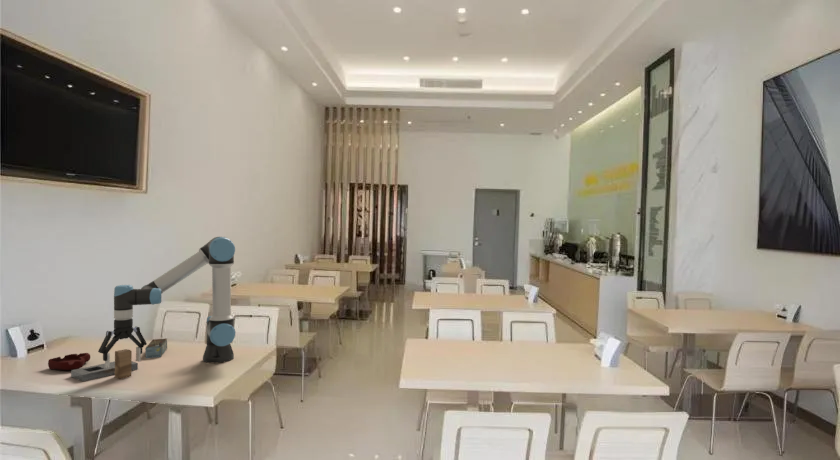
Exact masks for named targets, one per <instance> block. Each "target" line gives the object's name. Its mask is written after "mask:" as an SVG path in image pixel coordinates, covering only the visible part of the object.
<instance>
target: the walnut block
mask: <svg viewBox="0 0 840 460" xmlns="http://www.w3.org/2000/svg"><path fill="white" fill-rule="evenodd" d="M132 353H133V352H132V350H131V349H128V348H125V349H124V348H123V349H120V350H115V351H114V361H115V374H114V378H115V379H119V380H121V379H126V378H131V377H132V371H131V364H132V361H133V360H132V359H133V357H132Z"/></svg>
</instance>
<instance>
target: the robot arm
mask: <svg viewBox="0 0 840 460" xmlns="http://www.w3.org/2000/svg"><path fill="white" fill-rule="evenodd" d="M235 252H236V246H235V244H234V242H233V241H232V239H230V238H228V237H226V236H215V237H213V238H212V239H210V240H209V241H208V242H207V243H205V244H204V245H203V246H201V247H200V248H198V251H197V252H196V253H194V254H192V255H191V256H190V257H188V258H186V259H185V260H183V261H182V262H180V263H179V264H177V265H176V266H174V267H173V268H171V269H169V270H168V271H166V272H165V273H164V274H162V275H160V276H158V277H156V279H154V280H152V281H151V282H149V283H148V284H145V285H143V286H142V287H141V288H134V286H133V285H132V284H121V285H120V284H119V285H116V286H115V287H114V291H113V292H114V293H113V319H114V320H113V331H112V330H110V331H109V330H107V331H106V332H105V336H104V339H103V341H102V342H101V345H100V347H99V349H98V353H99V354H102V360H103V361H104V364H105V367H106V368H110V362H111V357H110V356H111V354H110V353H109V352H110V351H111V350H112V349H113V347H114V346H115V345H116V344H117V342H118V341H119V340H126V339H128V338H129V339H130V341H132V342H133V343H134V344H135V345H136V347H135V362H137V363H138V362H139V363H140V362H141V358H142V357H141V356H142V355H141V354H143V348H144V346H147V345H148V344H147V341H146V339H145V338H144V336H143V334H142V332H141V328H140V327H139V326H135V327H133V325H134V324H133V323H134V319H133V317H134V315H133V314H134V311H133V310H134V308H133V307H134V306H142V305H143V306H145V305H159V304H161V303H162V294H163V293H164V292H167V291H168V290H169V289H170V288H173V287H174V286H176V285H178V283H180V282H181V281H183V280H184V279H186V278H187V277H188V278H189V276H191V275H192V274H194V273H195V272H197V271H199V270H200V269H202V268H203V267H205V266H206V265H207V264H208V265H209V266H210V267H211V269H212V271H211V272H212V274H211V276H212V277H211V278H212V280H211V281H212V282H211V283H212V284H211V286H212V287H211V288H212V289H211V290H212V294H211V295H212V299H211V300H212V301H211V302H212V306H211V307H212V309H211V310H212V315H210V316H207V318H206V322H205V323H206V346H205V349H204V352H203V356H202V362H204V363H209V362H218V363H224V361H225V362H230V361H232V360H234V357H235V356H234V355H235V354H234V351H233V348H232V345H231V344H232V342H234V339H235V337H236V329H235V317H234V316H233V315H232V314H231V313H232V305H231V304H232V303H231V301H232V300H231V299H232V297H231V296H232V292H231V291H232V290H231V289H232V288H231V286H232V285H231V284H232V283H231V281H232V280H231V277H232V274H231V268H232V267H233V265H234V263H235V261H234V259H235V257H234V256H235ZM133 332H135V335H136V336H137V337H135V336H134V334H133ZM113 335H114V336H113ZM112 336H113V337H112ZM111 338H112V339H111ZM137 338H138V339H137ZM231 359H232V360H231Z"/></svg>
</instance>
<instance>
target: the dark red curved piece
mask: <svg viewBox="0 0 840 460" xmlns="http://www.w3.org/2000/svg"><path fill="white" fill-rule="evenodd" d="M90 360H91V354H90V353H89V352H84V353H82V352H81V353H79V354H78V353H70V354H65V355H64V357H62V358H61V356H58V357H53V358H50V359H48V362H47V366H48V368H49V369H51V370H55V369H57V370H58V371H59V370H63V371H71V370H75V369H80V368H84V365H86V363H88V362H90Z"/></svg>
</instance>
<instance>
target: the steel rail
mask: <svg viewBox="0 0 840 460" xmlns="http://www.w3.org/2000/svg"><path fill="white" fill-rule="evenodd" d="M138 367H139V365H138V362H137V361H133V360H132V364H131V372H132V371H135V370H139V368H138ZM113 375H114V376H115V360H114V361H110V368H106V367H105V363H101V364H96V365H92V366H91V365H90V366H85V367H81V368H79V369H75V370H70V377H71V378H73V379H75V380H78V381H80V382H86V381H87V382H88V381H91V380H95V379H100V378H104V377H108V376H113Z"/></svg>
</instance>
